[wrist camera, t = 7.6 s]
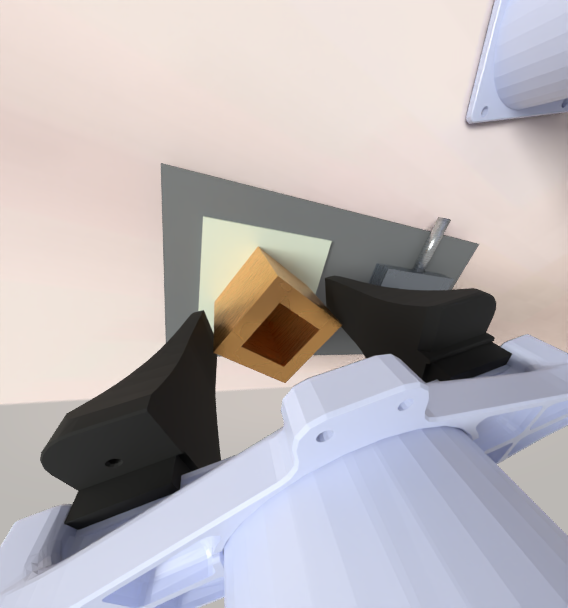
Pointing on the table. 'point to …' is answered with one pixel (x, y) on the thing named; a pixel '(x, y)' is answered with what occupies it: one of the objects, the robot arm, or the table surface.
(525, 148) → the table surface
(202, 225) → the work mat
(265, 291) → the collar
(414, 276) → the vise
